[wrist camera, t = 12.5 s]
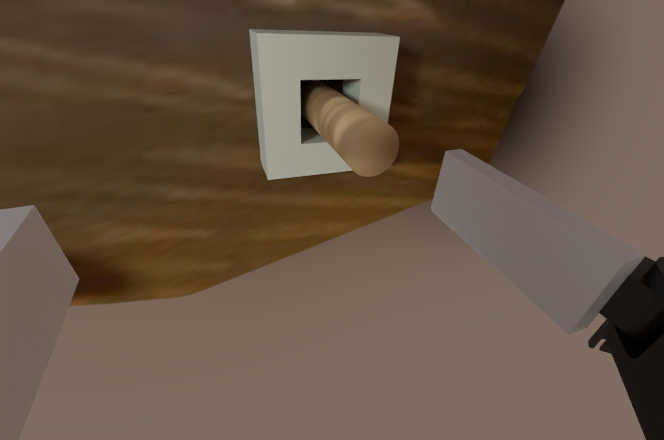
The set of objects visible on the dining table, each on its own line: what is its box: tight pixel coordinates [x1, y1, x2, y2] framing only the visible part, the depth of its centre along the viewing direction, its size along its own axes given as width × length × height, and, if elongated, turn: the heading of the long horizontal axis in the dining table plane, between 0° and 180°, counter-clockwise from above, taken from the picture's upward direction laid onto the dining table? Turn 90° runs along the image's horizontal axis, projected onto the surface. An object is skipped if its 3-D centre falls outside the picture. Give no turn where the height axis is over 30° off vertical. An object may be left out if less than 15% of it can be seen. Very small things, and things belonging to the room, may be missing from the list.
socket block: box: [249, 29, 400, 180], centre depth 35 cm, size 14×14×5 cm
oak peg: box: [300, 81, 399, 177], centre depth 31 cm, size 4×4×16 cm
